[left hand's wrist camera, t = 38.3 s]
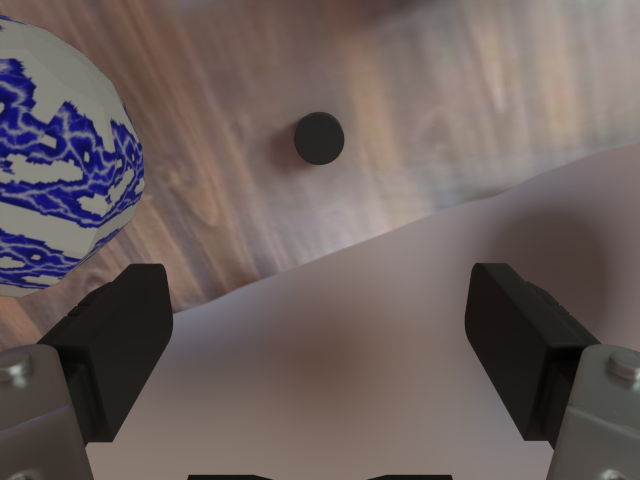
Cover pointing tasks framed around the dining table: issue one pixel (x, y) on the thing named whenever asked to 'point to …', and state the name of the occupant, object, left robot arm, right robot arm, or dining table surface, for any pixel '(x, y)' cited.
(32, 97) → the ornament
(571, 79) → the dining table surface
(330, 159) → the cap
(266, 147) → the dining table surface
